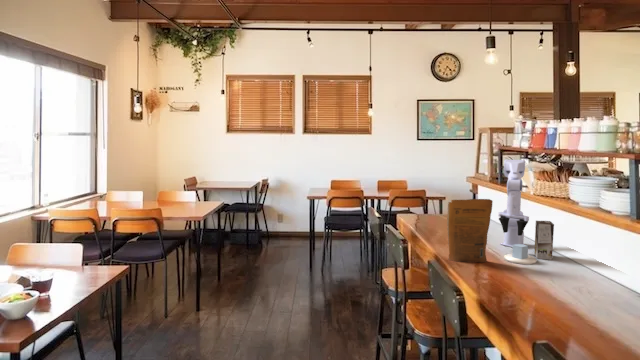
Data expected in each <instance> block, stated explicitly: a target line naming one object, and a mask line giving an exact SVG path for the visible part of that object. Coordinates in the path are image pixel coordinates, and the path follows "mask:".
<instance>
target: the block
mask: <svg viewBox="0 0 640 360" xmlns="http://www.w3.org/2000/svg"><path fill="white" fill-rule="evenodd" d="M511 248H512V249H511V251H512V252H511V254H512V257H514V258H518V259H526V258H528V255H529V245H528V244H527V245H526V244H525V245H522V244H515V245H513V247H511Z"/></svg>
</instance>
